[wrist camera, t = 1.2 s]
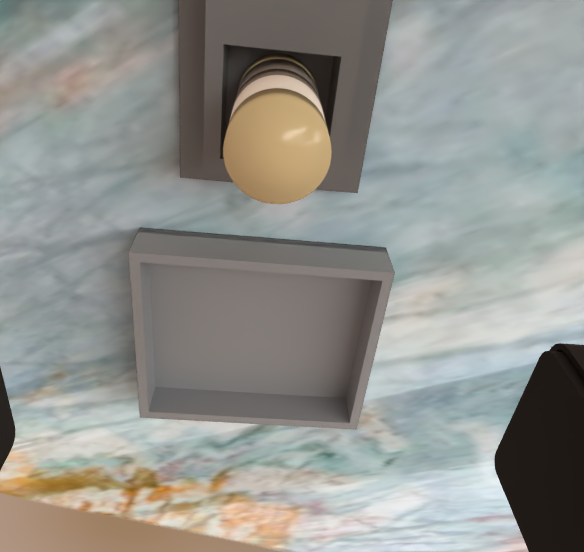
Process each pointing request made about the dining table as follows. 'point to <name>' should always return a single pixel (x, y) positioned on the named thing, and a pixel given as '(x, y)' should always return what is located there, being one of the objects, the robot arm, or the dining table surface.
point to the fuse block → (290, 40)
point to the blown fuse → (277, 132)
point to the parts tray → (255, 327)
